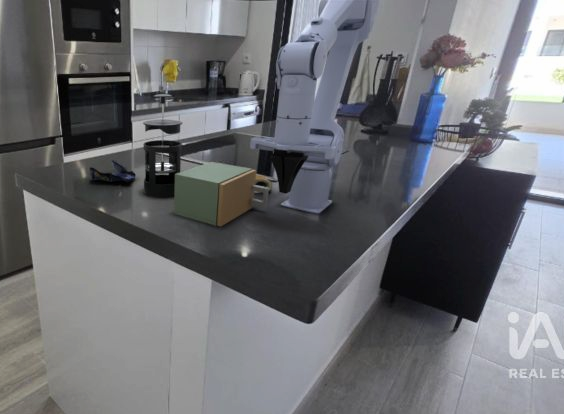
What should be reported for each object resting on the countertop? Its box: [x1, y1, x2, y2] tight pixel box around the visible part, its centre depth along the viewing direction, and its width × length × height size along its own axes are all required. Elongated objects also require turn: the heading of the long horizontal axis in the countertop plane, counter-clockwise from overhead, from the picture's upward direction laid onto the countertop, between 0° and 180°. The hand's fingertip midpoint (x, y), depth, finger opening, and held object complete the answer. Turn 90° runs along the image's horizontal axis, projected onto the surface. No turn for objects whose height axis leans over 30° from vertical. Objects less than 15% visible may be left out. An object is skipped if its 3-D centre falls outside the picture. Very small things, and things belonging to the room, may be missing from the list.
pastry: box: [254, 174, 273, 195], centre depth 95 cm, size 9×7×4 cm
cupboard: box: [173, 161, 253, 227], centre depth 79 cm, size 10×14×9 cm
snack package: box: [88, 159, 137, 187], centre depth 102 cm, size 12×6×12 cm
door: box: [216, 169, 270, 228], centre depth 75 cm, size 4×14×8 cm, turn 139°
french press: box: [142, 93, 183, 199], centre depth 89 cm, size 12×9×23 cm
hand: (284, 191), depth 71 cm, fingers closed
